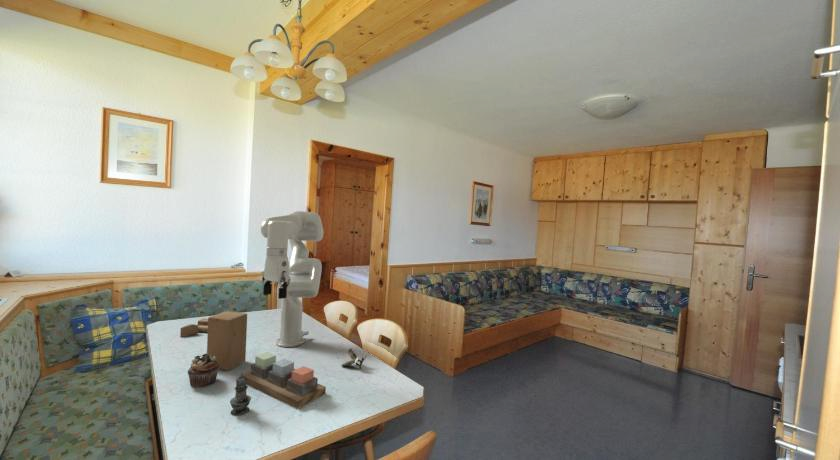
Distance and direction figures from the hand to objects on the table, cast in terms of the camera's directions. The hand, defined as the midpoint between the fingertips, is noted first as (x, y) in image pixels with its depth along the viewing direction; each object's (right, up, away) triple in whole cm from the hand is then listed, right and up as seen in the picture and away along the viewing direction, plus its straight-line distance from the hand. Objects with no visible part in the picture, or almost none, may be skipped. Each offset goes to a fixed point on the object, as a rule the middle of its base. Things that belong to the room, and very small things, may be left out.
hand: (274, 296), depth 136 cm
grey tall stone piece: (+1, -31, -28) cm, 41 cm away
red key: (+17, -26, -17) cm, 35 cm away
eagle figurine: (+29, -31, +9) cm, 43 cm away
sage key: (0, -25, -7) cm, 26 cm away
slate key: (+8, -25, -12) cm, 29 cm away
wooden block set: (-49, -26, +38) cm, 67 cm away
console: (+8, -30, -12) cm, 34 cm away
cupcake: (-21, -29, -12) cm, 37 cm away
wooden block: (-21, -28, +4) cm, 35 cm away
